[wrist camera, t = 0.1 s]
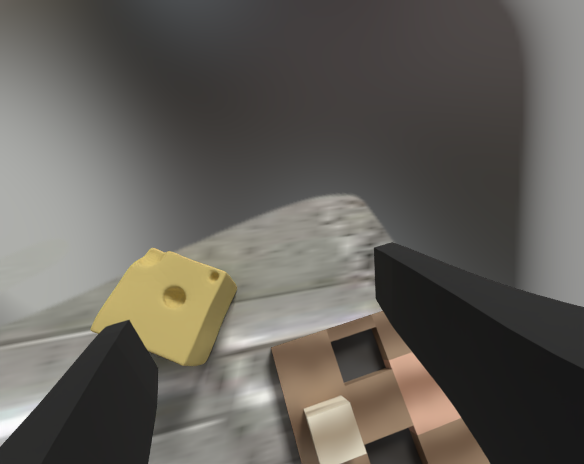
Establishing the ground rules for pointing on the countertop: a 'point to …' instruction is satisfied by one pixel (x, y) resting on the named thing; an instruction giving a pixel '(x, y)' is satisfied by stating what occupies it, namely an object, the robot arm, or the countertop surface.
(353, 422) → the block
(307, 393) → the trap deck
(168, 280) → the cheese
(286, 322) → the countertop surface
